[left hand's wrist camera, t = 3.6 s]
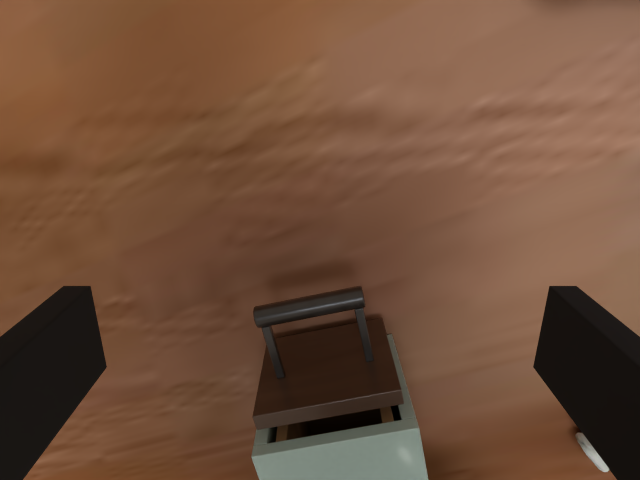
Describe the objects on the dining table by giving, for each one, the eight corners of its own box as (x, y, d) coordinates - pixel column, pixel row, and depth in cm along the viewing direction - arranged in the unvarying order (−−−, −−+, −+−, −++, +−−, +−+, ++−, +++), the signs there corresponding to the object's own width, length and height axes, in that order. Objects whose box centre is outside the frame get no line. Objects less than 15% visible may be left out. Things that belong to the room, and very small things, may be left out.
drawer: (248, 278, 36) (226, 341, 27) (369, 253, 35) (386, 310, 26) (310, 481, 43) (308, 581, 35) (410, 464, 43) (434, 561, 34)
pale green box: (268, 357, 40) (250, 457, 29) (391, 333, 39) (419, 427, 28) (313, 499, 46) (311, 625, 35) (420, 482, 45) (451, 605, 34)
